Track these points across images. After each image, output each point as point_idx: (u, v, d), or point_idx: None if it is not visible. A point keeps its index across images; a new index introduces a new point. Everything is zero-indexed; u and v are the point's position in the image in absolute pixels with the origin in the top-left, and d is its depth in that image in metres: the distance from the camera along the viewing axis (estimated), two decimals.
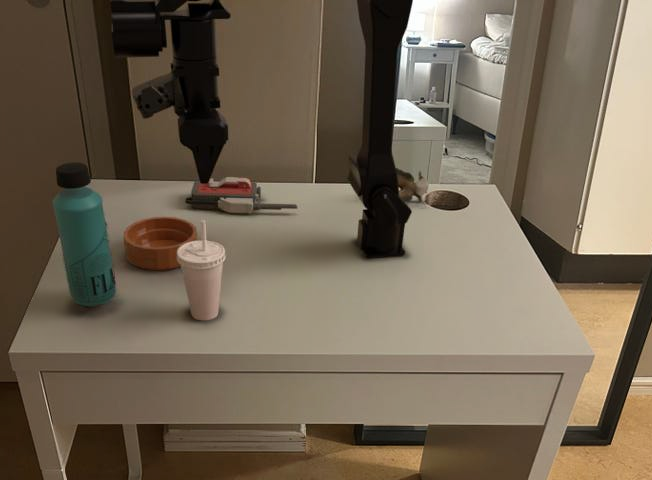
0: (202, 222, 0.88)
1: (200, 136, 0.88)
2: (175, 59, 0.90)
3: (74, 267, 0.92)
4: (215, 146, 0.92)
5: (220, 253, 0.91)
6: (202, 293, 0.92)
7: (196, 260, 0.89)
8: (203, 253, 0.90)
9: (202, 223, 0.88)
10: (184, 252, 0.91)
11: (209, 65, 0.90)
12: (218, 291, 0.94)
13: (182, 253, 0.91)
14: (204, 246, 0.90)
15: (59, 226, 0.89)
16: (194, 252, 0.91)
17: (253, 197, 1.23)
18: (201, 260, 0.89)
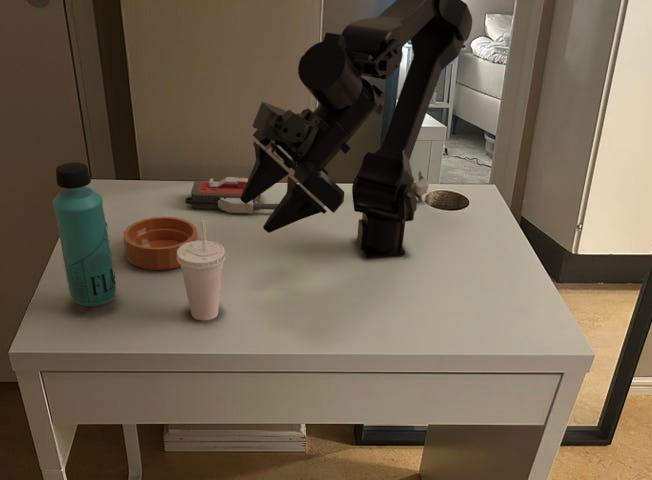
0: (202, 222, 0.88)
1: (321, 193, 0.82)
2: (324, 112, 0.86)
3: (74, 267, 0.92)
4: (310, 208, 0.86)
5: (220, 253, 0.91)
6: (202, 293, 0.92)
7: (196, 260, 0.89)
8: (203, 253, 0.90)
9: (202, 223, 0.88)
10: (184, 252, 0.91)
11: (346, 139, 0.87)
12: (218, 291, 0.94)
13: (182, 253, 0.91)
14: (204, 246, 0.90)
15: (59, 226, 0.89)
16: (194, 252, 0.91)
17: None
18: (201, 260, 0.89)
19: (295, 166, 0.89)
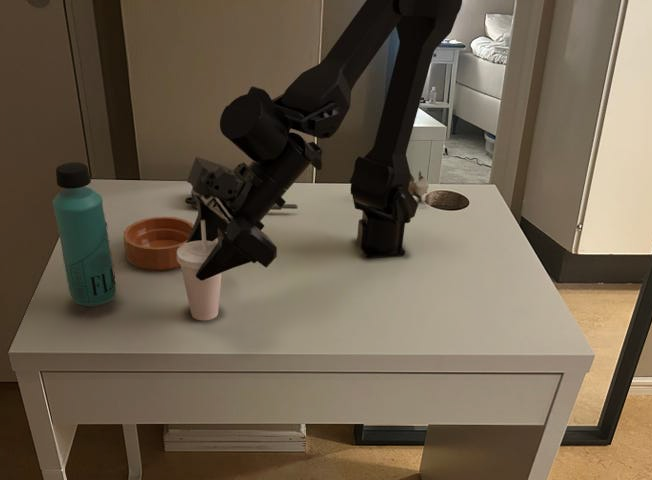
0: (202, 222, 0.88)
1: (253, 249, 0.83)
2: (258, 167, 0.86)
3: (74, 267, 0.92)
4: (241, 258, 0.88)
5: None
6: (201, 293, 0.92)
7: (196, 260, 0.89)
8: (203, 253, 0.90)
9: (202, 223, 0.88)
10: (184, 252, 0.91)
11: (281, 193, 0.88)
12: (218, 291, 0.94)
13: (182, 253, 0.91)
14: (204, 246, 0.90)
15: (59, 226, 0.89)
16: (194, 252, 0.91)
17: None
18: (201, 260, 0.89)
19: (231, 219, 0.90)
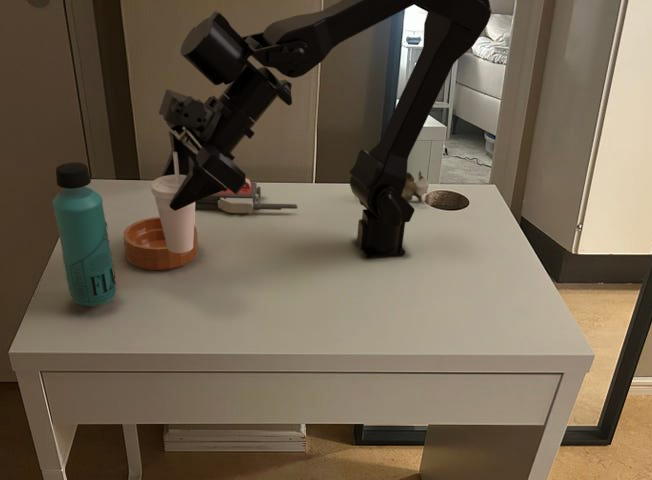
0: (174, 153, 0.92)
1: (222, 175, 0.87)
2: (227, 98, 0.90)
3: (74, 267, 0.92)
4: (212, 187, 0.92)
5: None
6: (176, 224, 0.96)
7: (169, 191, 0.93)
8: (176, 185, 0.94)
9: (174, 154, 0.92)
10: (158, 184, 0.94)
11: (250, 125, 0.92)
12: (192, 223, 0.97)
13: (156, 185, 0.94)
14: (177, 178, 0.94)
15: (59, 226, 0.89)
16: (167, 184, 0.94)
17: (253, 197, 1.23)
18: (174, 190, 0.93)
19: None
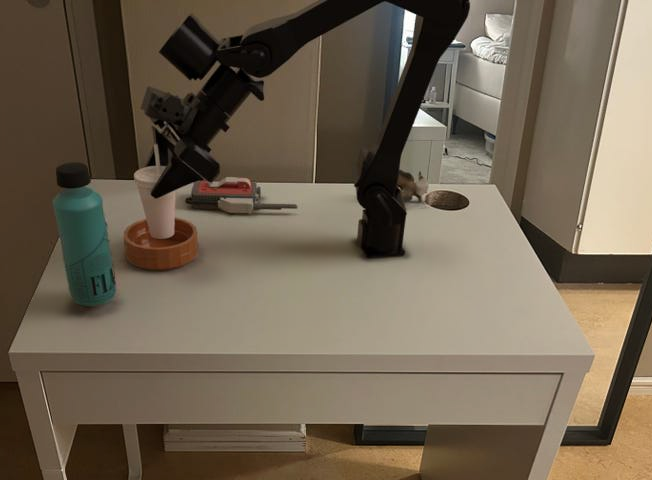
0: (155, 145, 0.99)
1: (197, 165, 0.94)
2: (203, 95, 0.97)
3: (74, 267, 0.92)
4: (189, 176, 0.99)
5: None
6: (157, 211, 1.03)
7: (150, 180, 1.00)
8: (157, 175, 1.01)
9: (155, 146, 1.00)
10: (140, 174, 1.02)
11: (225, 119, 0.99)
12: (172, 211, 1.05)
13: (138, 175, 1.02)
14: (158, 168, 1.01)
15: (59, 226, 0.89)
16: (149, 174, 1.02)
17: (253, 197, 1.23)
18: (154, 180, 1.00)
19: None
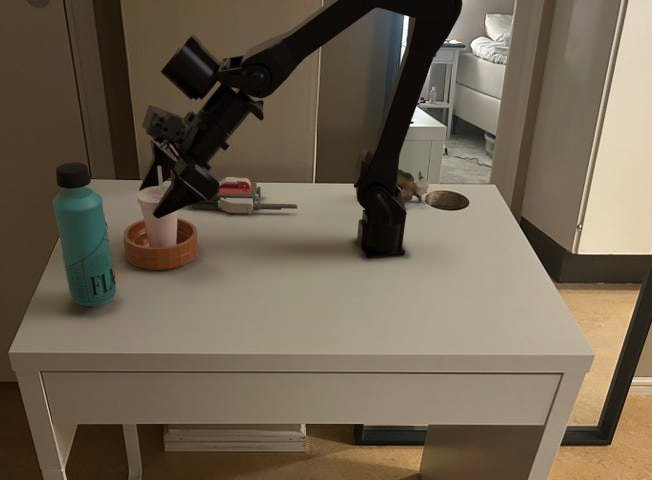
0: (158, 167, 1.01)
1: (197, 183, 0.96)
2: (204, 114, 0.99)
3: (74, 267, 0.92)
4: (192, 197, 1.00)
5: None
6: (159, 231, 1.05)
7: (153, 201, 1.02)
8: (160, 195, 1.03)
9: (158, 168, 1.01)
10: (143, 195, 1.04)
11: (225, 138, 1.01)
12: (174, 231, 1.07)
13: (142, 195, 1.04)
14: (161, 189, 1.03)
15: (59, 226, 0.89)
16: (152, 195, 1.04)
17: (253, 197, 1.23)
18: (157, 201, 1.02)
19: None
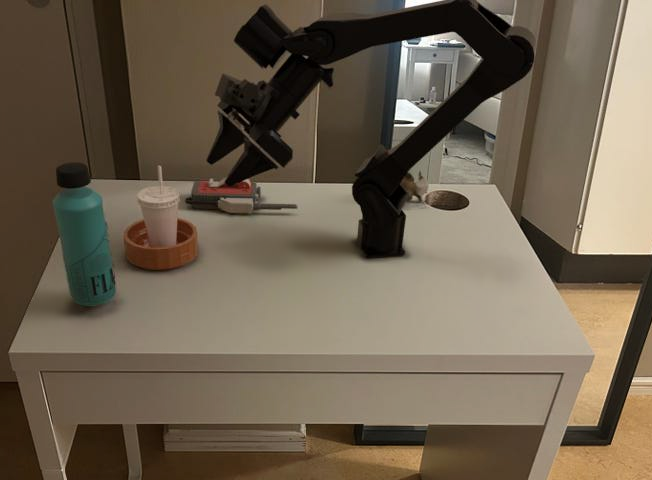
0: (158, 167, 1.01)
1: (272, 150, 0.97)
2: (276, 82, 1.00)
3: (74, 267, 0.92)
4: (264, 165, 1.01)
5: (175, 196, 1.04)
6: (159, 231, 1.05)
7: (153, 201, 1.02)
8: (160, 195, 1.03)
9: (158, 168, 1.01)
10: (143, 195, 1.04)
11: (296, 106, 1.02)
12: (174, 231, 1.07)
13: (142, 195, 1.04)
14: (161, 189, 1.03)
15: (59, 226, 0.89)
16: (152, 195, 1.04)
17: (253, 197, 1.23)
18: (157, 201, 1.02)
19: None
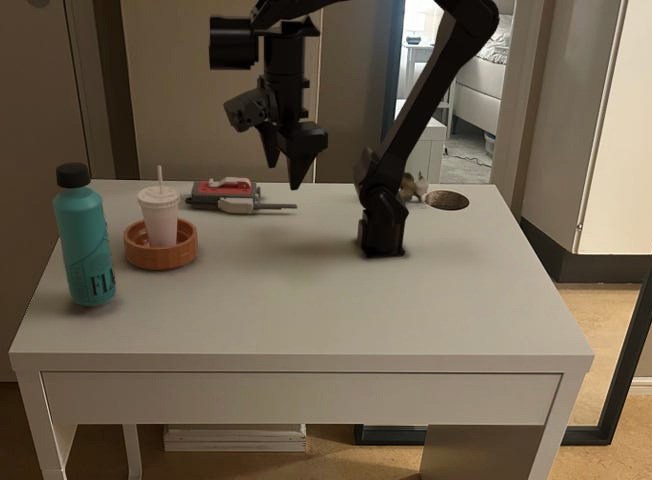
0: (158, 167, 1.01)
1: (305, 146, 0.93)
2: (269, 74, 0.95)
3: (74, 267, 0.92)
4: (310, 154, 0.98)
5: (175, 196, 1.04)
6: (159, 231, 1.05)
7: (153, 201, 1.02)
8: (160, 195, 1.03)
9: (158, 168, 1.01)
10: (143, 195, 1.04)
11: (301, 78, 0.95)
12: (174, 231, 1.07)
13: (142, 195, 1.04)
14: (161, 189, 1.03)
15: (59, 226, 0.89)
16: (152, 195, 1.04)
17: (253, 197, 1.23)
18: (157, 201, 1.02)
19: (282, 125, 1.00)
